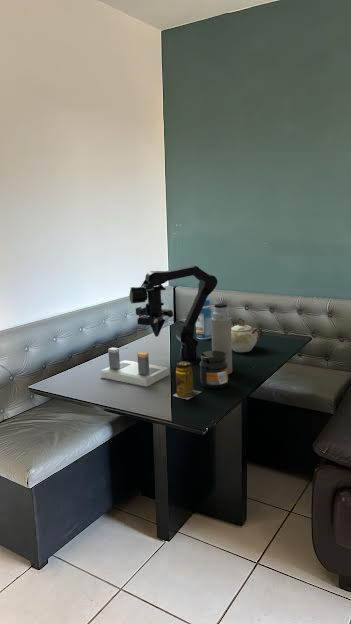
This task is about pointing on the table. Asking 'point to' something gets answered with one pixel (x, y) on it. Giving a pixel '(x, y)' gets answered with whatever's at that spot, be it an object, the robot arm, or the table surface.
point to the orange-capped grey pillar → (143, 363)
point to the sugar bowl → (244, 337)
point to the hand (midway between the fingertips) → (156, 336)
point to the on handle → (114, 358)
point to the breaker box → (135, 373)
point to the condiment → (185, 381)
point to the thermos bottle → (222, 332)
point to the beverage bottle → (204, 322)
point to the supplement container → (214, 369)
